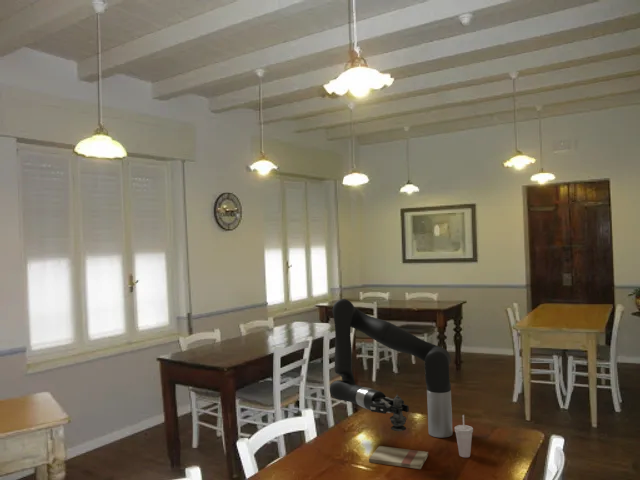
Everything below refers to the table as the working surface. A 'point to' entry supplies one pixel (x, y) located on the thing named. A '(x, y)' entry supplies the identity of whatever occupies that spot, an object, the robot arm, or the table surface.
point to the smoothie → (464, 439)
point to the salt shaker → (398, 416)
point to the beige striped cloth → (399, 457)
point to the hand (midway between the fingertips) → (403, 410)
